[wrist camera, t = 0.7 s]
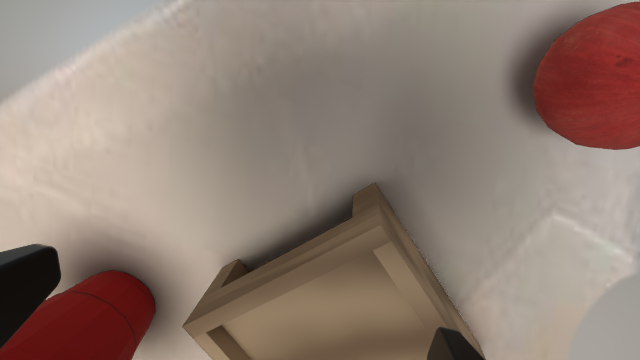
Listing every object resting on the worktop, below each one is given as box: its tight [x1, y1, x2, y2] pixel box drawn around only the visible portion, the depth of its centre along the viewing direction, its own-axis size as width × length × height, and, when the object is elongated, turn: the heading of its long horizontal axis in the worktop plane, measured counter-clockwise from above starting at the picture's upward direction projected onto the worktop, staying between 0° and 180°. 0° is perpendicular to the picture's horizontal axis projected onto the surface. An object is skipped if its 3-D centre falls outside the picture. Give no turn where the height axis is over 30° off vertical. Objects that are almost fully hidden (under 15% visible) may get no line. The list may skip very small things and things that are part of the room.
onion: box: [533, 2, 640, 150], centre depth 13 cm, size 6×6×8 cm
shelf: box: [182, 183, 486, 360], centre depth 21 cm, size 15×13×6 cm
